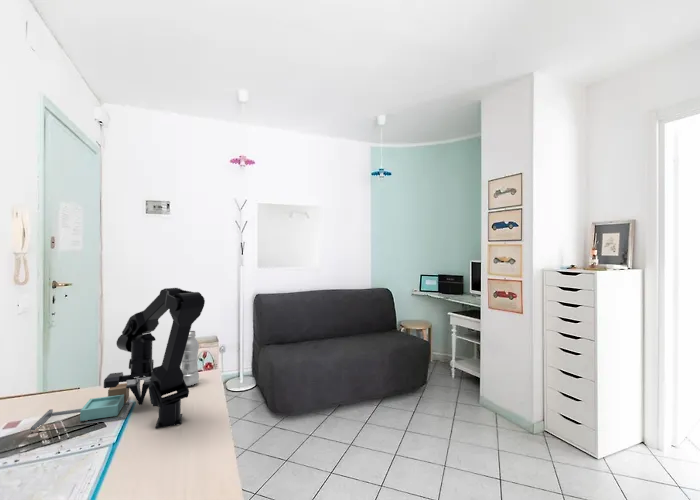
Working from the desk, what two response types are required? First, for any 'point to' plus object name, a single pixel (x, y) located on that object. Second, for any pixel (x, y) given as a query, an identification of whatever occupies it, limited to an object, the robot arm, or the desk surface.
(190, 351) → the plastic bottle
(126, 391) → the walnut block
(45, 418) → the gray metal rectangular frame
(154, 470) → the desk surface
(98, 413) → the teal square tray
